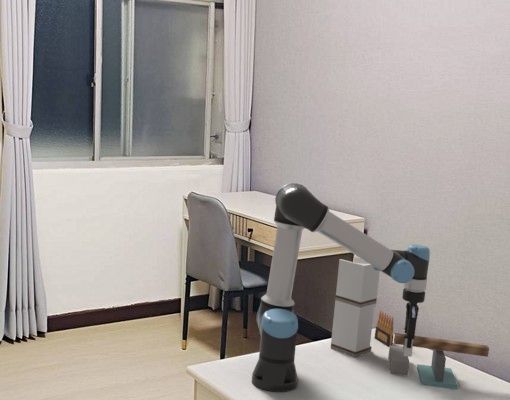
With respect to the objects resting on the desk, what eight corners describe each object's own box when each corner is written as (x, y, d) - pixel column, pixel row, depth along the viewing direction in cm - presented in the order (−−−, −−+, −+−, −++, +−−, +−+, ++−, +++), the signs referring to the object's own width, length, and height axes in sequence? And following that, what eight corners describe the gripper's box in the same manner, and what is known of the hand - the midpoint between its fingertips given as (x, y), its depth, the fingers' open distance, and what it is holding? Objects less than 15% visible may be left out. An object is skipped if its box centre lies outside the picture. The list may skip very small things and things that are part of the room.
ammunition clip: (392, 347, 276) (395, 317, 275) (388, 347, 276) (391, 317, 274) (378, 338, 286) (381, 309, 284) (374, 338, 285) (377, 309, 284)
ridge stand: (421, 384, 239) (424, 356, 238) (416, 368, 255) (420, 341, 254) (457, 389, 238) (460, 361, 236) (450, 372, 253) (453, 345, 252)
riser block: (390, 373, 247) (392, 360, 247) (388, 358, 263) (389, 345, 262) (407, 375, 246) (409, 362, 246) (404, 360, 262) (405, 347, 262)
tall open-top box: (370, 351, 269) (380, 262, 264) (354, 357, 261) (364, 265, 256) (346, 343, 276) (355, 256, 272) (330, 348, 269) (339, 259, 264)
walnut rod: (394, 343, 245) (395, 335, 245) (393, 341, 248) (394, 333, 248) (488, 356, 241) (489, 348, 241) (486, 353, 244) (487, 345, 244)
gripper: (401, 282, 252) (394, 345, 255) (405, 294, 236) (397, 360, 239) (423, 285, 251) (415, 347, 254) (427, 296, 235) (420, 363, 238)
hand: (406, 353), depth 247 cm, fingers open, 3 cm apart
